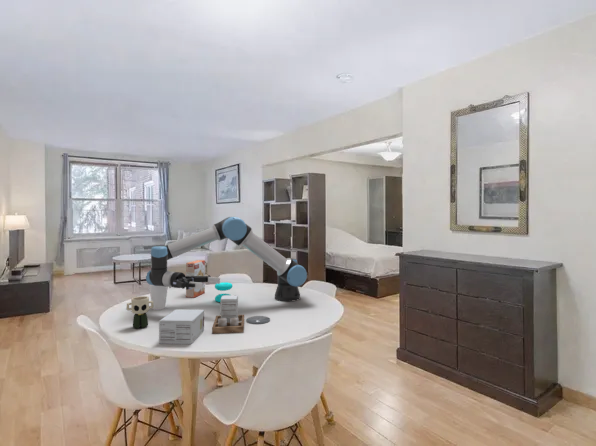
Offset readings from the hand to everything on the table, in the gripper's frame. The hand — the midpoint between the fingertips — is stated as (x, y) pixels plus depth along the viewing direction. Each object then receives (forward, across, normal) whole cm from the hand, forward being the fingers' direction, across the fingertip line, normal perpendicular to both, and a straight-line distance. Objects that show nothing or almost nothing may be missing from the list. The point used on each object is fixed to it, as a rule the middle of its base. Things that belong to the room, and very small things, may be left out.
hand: (211, 283), depth 167 cm
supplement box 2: (+10, 0, -18) cm, 21 cm away
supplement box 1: (+1, +21, -19) cm, 28 cm away
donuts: (-18, -36, -18) cm, 44 cm away
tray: (+11, +2, -18) cm, 21 cm away
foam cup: (-40, -10, -18) cm, 45 cm away
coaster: (+19, -10, -18) cm, 28 cm away
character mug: (-24, +18, -18) cm, 36 cm away
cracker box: (-41, -41, -18) cm, 61 cm away
